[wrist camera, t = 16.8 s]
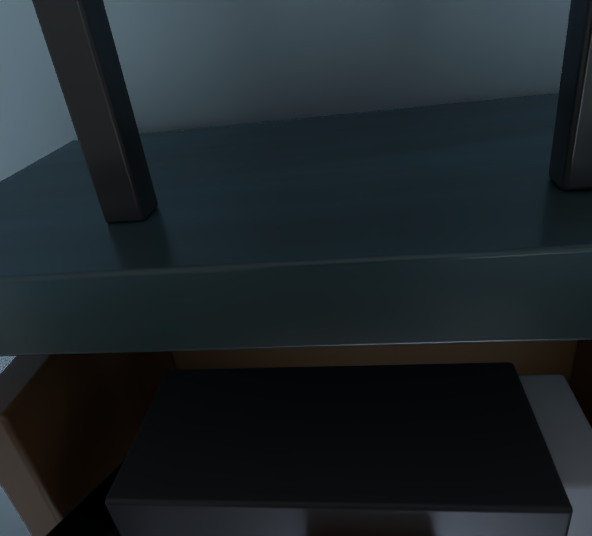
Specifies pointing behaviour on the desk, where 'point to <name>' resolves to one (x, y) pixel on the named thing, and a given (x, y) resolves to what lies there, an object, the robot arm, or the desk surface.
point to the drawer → (277, 252)
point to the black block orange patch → (358, 454)
